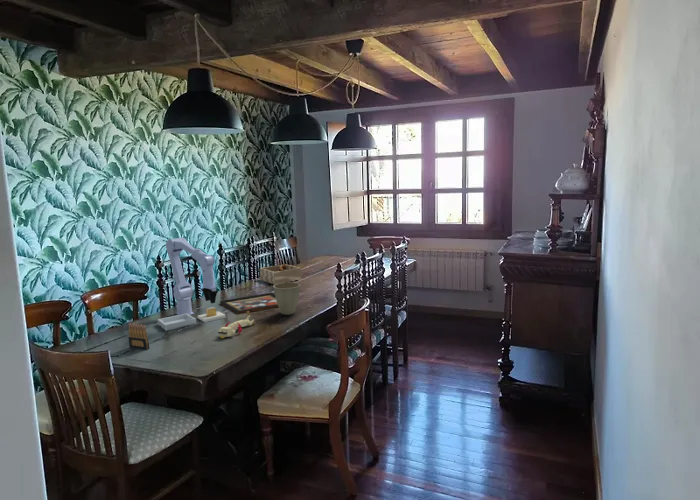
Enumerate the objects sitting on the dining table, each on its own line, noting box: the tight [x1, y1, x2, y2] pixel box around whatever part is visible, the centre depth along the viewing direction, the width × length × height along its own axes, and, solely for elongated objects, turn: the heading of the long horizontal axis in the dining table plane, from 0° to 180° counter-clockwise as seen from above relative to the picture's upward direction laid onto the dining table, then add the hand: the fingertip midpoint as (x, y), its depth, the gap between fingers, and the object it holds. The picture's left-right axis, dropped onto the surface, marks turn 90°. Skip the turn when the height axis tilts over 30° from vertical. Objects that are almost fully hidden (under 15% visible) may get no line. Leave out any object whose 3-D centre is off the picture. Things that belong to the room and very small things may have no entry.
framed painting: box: [219, 292, 279, 315], centre depth 292 cm, size 38×35×3 cm
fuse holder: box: [197, 310, 226, 323], centre depth 265 cm, size 10×12×2 cm
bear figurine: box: [277, 263, 286, 272], centre depth 358 cm, size 14×15×12 cm
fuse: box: [205, 306, 217, 317], centre depth 265 cm, size 3×4×6 cm, turn 127°
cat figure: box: [217, 311, 256, 339], centre depth 241 cm, size 10×9×25 cm
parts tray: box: [157, 313, 197, 332], centre depth 257 cm, size 14×16×3 cm
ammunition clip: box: [128, 321, 150, 351], centre depth 221 cm, size 11×2×12 cm, turn 67°
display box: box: [259, 263, 302, 286], centre depth 359 cm, size 23×22×9 cm
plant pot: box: [272, 282, 301, 315], centre depth 270 cm, size 15×15×16 cm
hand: (210, 301), depth 264 cm, fingers open, 7 cm apart
